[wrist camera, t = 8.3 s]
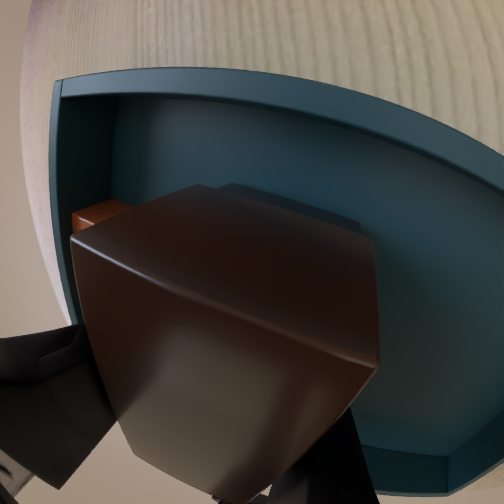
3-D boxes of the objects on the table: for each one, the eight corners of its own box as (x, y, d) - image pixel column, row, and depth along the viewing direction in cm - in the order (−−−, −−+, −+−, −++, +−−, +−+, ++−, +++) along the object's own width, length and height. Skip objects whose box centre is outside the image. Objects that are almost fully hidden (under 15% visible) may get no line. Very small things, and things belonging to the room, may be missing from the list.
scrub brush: (199, 365, 11) (132, 453, 7) (225, 172, 7) (66, 234, 3) (287, 402, 10) (242, 507, 6) (371, 217, 7) (384, 366, 2)
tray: (123, 342, 14) (88, 375, 12) (121, 82, 8) (53, 80, 6) (448, 453, 10) (447, 496, 7) (599, 254, 4) (637, 291, 1)
